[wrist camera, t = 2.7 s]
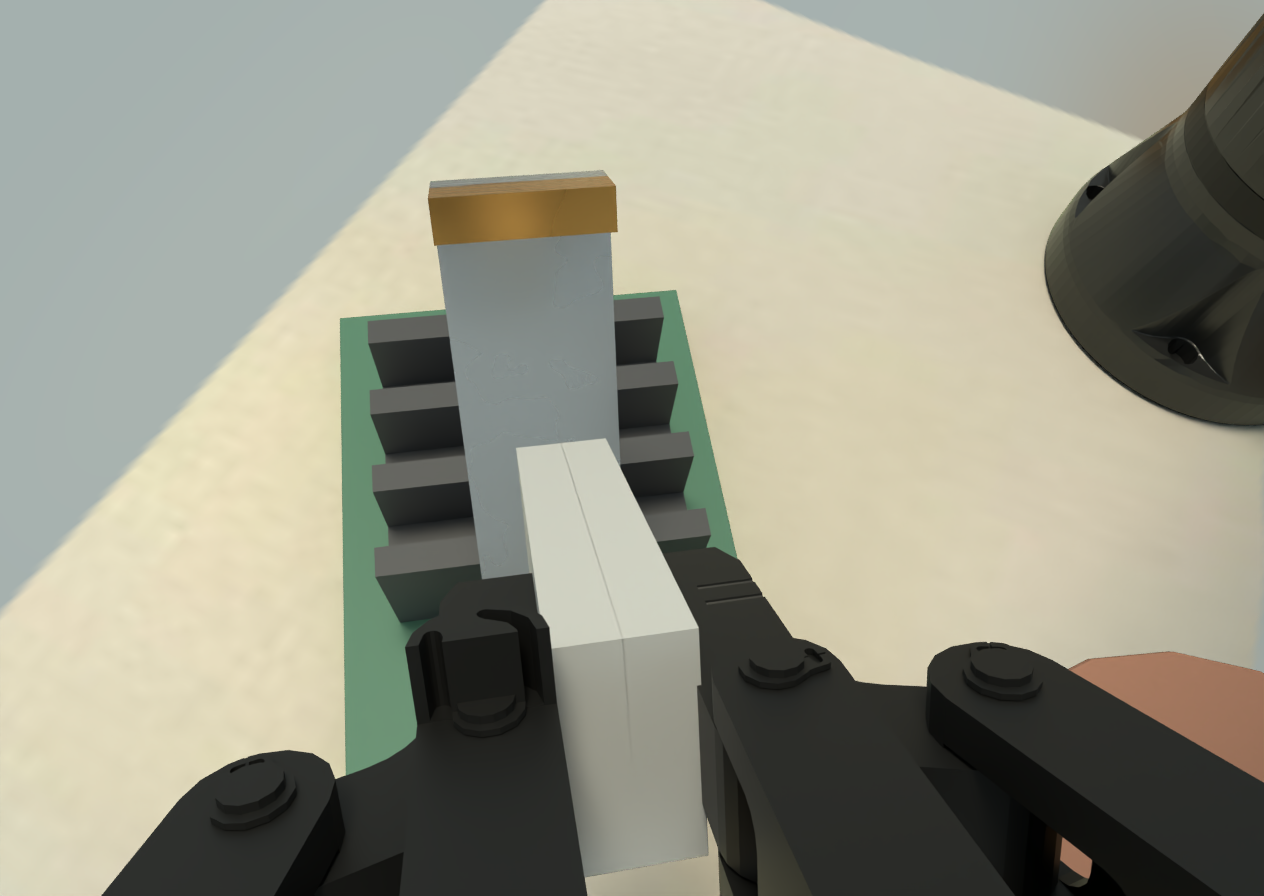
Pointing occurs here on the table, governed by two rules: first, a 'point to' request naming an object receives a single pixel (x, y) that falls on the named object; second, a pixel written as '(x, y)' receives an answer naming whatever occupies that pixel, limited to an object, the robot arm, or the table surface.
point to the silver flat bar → (526, 331)
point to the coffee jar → (1185, 708)
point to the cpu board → (440, 493)
